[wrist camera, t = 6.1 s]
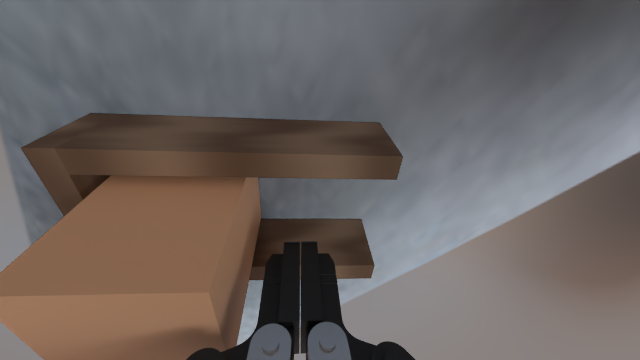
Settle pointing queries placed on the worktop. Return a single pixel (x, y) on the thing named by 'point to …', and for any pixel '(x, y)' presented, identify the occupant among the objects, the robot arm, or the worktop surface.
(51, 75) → the worktop surface
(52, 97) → the worktop surface
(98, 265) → the block
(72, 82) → the worktop surface
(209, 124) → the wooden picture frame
